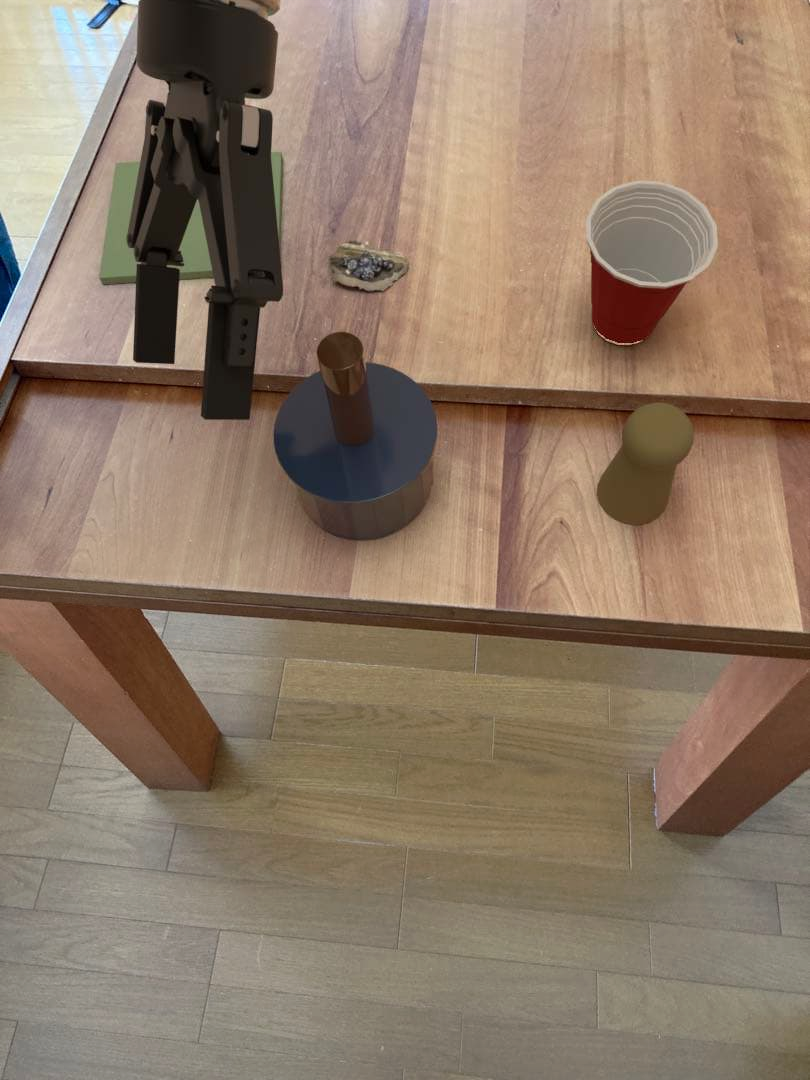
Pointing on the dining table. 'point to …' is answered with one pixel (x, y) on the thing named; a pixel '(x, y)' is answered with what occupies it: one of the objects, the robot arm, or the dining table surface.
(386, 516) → the pot
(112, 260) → the mat
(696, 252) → the plastic cup
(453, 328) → the dining table surface
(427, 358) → the dining table surface
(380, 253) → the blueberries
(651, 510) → the pepper shaker
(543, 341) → the dining table surface
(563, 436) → the dining table surface
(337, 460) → the lid
